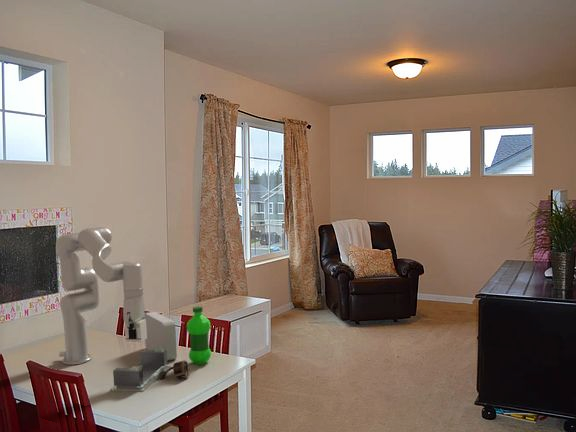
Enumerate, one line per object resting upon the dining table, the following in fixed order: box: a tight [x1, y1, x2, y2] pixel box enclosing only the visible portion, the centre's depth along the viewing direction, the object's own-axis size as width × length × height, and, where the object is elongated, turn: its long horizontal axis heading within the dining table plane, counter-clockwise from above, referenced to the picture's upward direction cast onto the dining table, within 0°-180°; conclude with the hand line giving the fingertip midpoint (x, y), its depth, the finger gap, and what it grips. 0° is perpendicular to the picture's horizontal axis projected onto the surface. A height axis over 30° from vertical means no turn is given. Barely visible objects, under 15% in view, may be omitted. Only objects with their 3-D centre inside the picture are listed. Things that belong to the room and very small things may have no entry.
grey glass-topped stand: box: [109, 348, 172, 392], centre depth 220 cm, size 14×27×9 cm, turn 169°
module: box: [123, 319, 147, 343], centre depth 219 cm, size 7×5×8 cm
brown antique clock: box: [158, 359, 191, 380], centre depth 220 cm, size 7×13×10 cm
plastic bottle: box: [186, 305, 212, 366], centre depth 236 cm, size 10×10×25 cm
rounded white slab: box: [144, 311, 178, 362], centre depth 253 cm, size 29×8×18 cm, turn 33°
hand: (136, 336), depth 219 cm, fingers closed on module, 5 cm apart
